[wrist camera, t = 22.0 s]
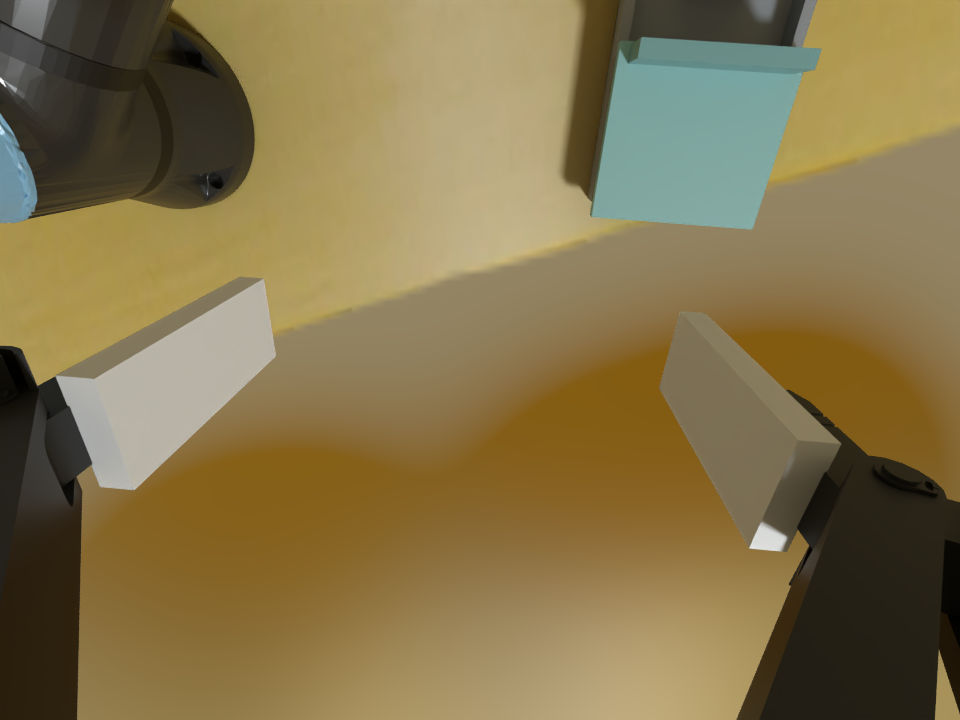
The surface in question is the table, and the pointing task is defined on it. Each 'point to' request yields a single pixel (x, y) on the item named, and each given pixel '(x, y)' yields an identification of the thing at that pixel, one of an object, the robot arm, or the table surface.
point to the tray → (705, 30)
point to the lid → (694, 129)
